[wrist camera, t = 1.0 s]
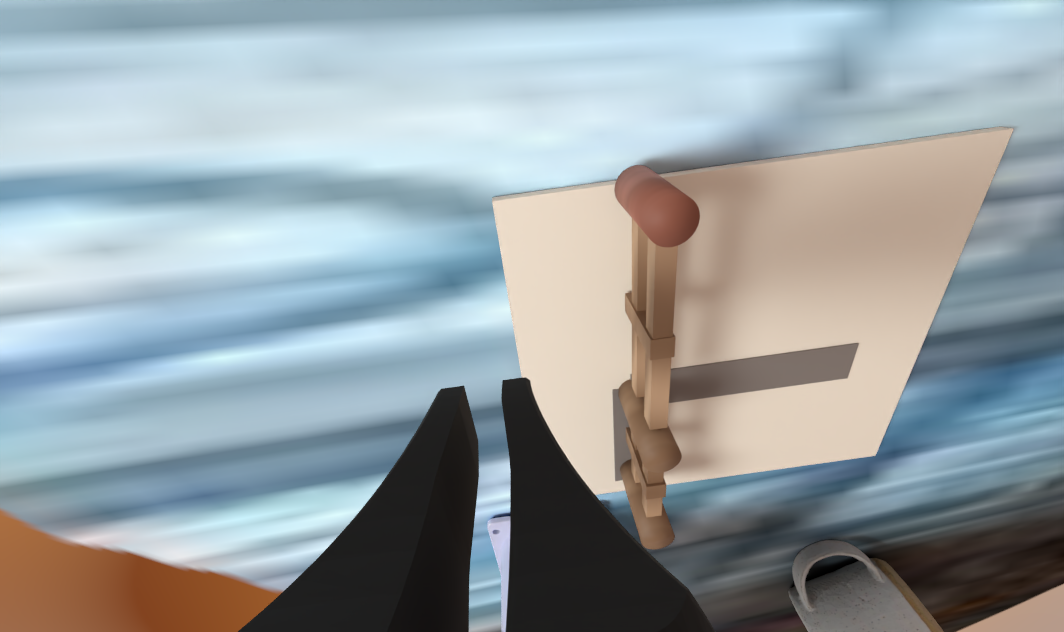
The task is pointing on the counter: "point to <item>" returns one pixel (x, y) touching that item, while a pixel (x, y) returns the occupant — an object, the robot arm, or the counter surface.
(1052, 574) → the counter surface
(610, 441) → the card
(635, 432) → the frame
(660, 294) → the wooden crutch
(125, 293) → the counter surface
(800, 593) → the ceramic mug
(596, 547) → the robot arm
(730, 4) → the counter surface
